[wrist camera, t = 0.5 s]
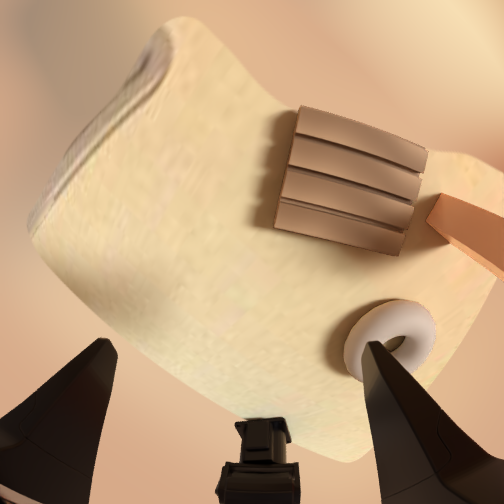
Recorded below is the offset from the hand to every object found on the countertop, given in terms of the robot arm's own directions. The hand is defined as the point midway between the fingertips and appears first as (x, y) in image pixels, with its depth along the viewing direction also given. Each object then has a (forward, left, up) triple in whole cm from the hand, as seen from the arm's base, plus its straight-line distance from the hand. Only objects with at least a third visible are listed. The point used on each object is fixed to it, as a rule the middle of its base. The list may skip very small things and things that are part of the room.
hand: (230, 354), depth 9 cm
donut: (-14, -11, -15) cm, 23 cm away
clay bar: (-2, -17, -14) cm, 22 cm away
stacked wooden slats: (+2, -8, -14) cm, 16 cm away
